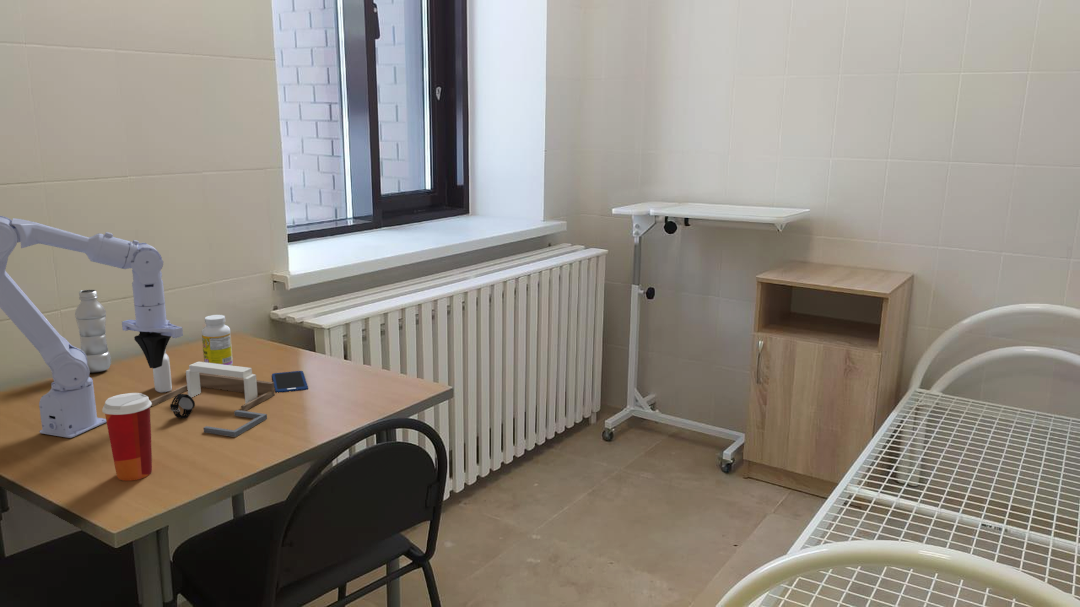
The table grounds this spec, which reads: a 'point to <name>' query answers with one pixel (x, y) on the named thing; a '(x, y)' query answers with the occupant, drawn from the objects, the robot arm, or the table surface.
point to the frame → (233, 433)
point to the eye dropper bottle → (163, 376)
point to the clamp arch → (223, 370)
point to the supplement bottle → (217, 341)
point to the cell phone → (289, 381)
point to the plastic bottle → (93, 331)
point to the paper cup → (130, 434)
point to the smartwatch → (182, 405)
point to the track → (225, 388)
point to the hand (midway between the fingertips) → (155, 366)
